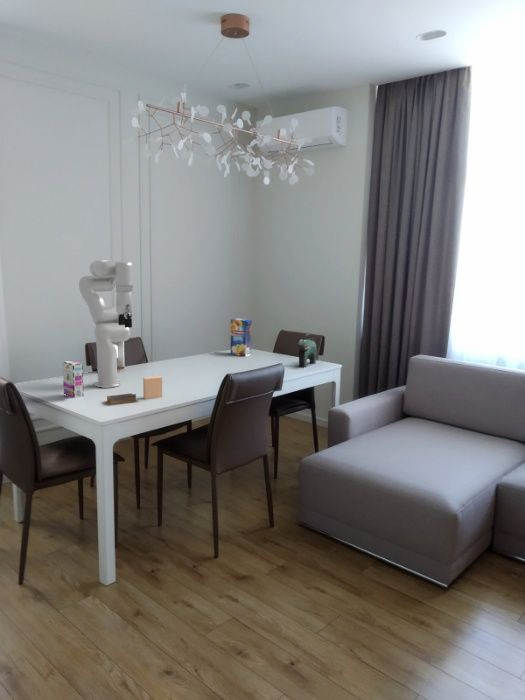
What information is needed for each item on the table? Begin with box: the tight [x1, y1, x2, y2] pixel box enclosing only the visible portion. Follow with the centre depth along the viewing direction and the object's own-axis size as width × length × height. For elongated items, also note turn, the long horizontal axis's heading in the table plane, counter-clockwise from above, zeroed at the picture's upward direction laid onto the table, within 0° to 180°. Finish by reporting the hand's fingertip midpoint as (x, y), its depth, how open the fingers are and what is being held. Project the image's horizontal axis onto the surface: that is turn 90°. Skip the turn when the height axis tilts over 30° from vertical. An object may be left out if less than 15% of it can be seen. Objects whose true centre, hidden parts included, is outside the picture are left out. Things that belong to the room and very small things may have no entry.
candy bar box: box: [62, 359, 84, 399], centre depth 254 cm, size 11×5×16 cm, turn 45°
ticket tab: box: [142, 375, 163, 400], centre depth 253 cm, size 3×8×10 cm, turn 121°
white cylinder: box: [94, 323, 125, 374], centre depth 308 cm, size 11×11×35 cm
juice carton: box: [230, 318, 253, 357], centre depth 368 cm, size 12×8×24 cm, turn 60°
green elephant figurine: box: [297, 333, 318, 369], centre depth 339 cm, size 20×6×20 cm, turn 148°
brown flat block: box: [103, 393, 140, 407], centre depth 245 cm, size 8×14×4 cm, turn 121°
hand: (125, 326), depth 252 cm, fingers open, 9 cm apart
